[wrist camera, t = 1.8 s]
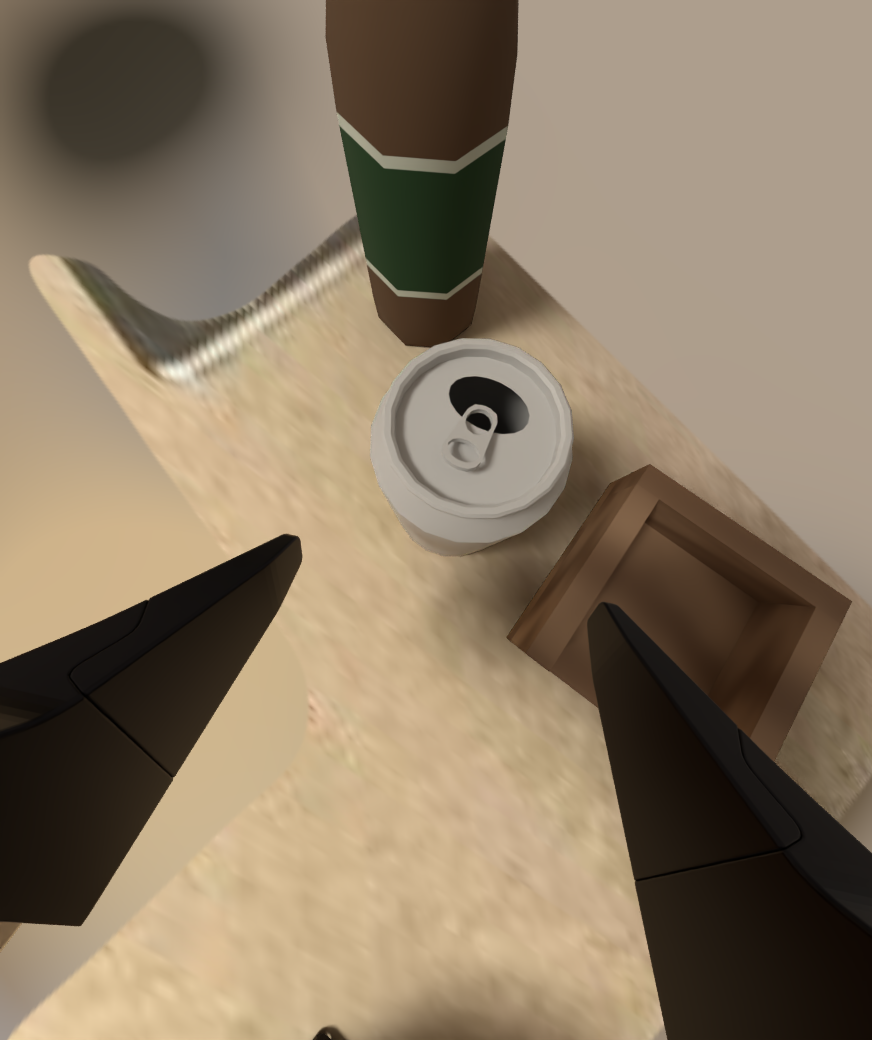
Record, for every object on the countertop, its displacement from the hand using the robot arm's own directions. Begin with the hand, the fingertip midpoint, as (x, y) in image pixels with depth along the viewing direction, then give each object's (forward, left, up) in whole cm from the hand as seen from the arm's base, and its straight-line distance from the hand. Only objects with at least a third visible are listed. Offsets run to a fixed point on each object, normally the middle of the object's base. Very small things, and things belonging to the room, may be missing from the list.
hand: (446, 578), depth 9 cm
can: (+4, +2, -12) cm, 13 cm away
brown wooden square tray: (+7, -12, -12) cm, 18 cm away
